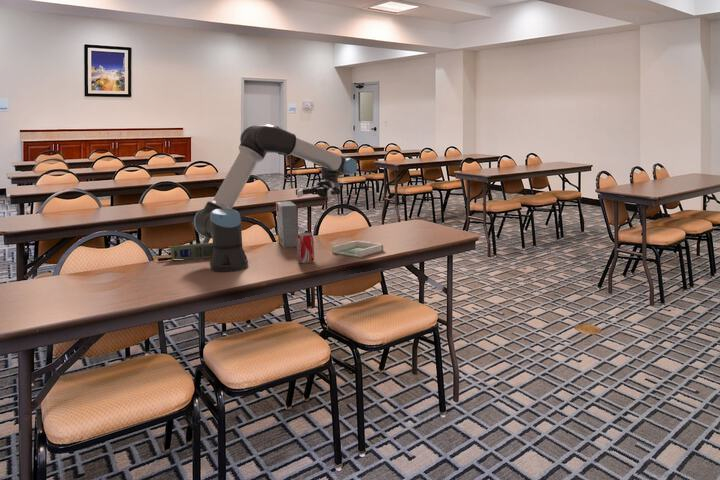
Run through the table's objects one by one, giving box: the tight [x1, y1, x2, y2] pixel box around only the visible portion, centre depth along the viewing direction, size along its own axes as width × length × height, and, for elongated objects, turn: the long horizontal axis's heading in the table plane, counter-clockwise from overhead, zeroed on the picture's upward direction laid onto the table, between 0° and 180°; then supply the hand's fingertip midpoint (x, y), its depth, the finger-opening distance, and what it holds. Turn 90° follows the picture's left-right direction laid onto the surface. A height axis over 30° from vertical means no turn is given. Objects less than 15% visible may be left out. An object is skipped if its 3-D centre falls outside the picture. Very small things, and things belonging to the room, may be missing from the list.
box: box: [331, 240, 384, 259], centre depth 251 cm, size 16×16×3 cm
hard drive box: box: [275, 200, 299, 249], centre depth 271 cm, size 16×8×20 cm, turn 17°
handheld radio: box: [157, 242, 213, 262], centre depth 247 cm, size 7×3×25 cm
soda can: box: [296, 232, 315, 264], centre depth 234 cm, size 7×7×12 cm
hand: (313, 194), depth 244 cm, fingers open, 13 cm apart
